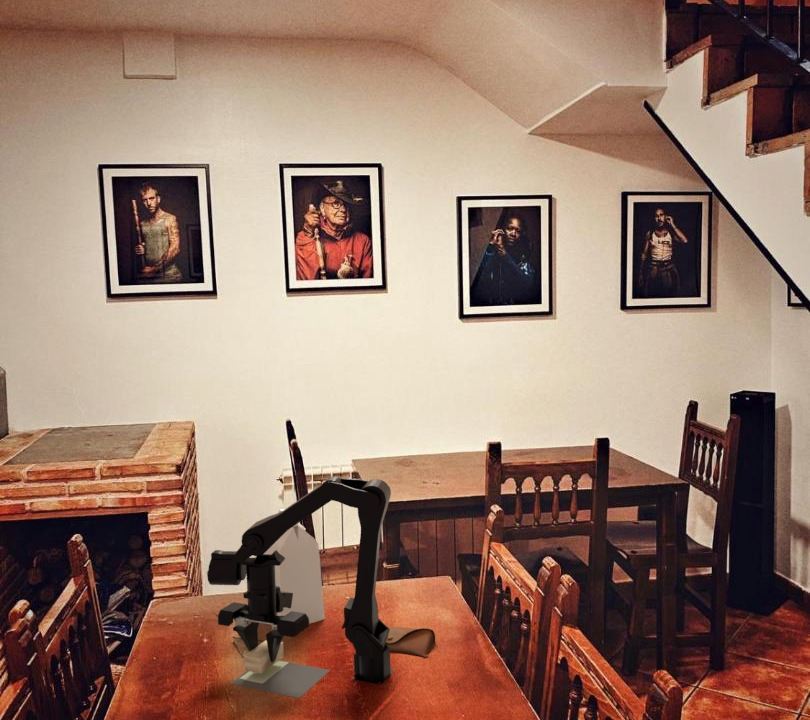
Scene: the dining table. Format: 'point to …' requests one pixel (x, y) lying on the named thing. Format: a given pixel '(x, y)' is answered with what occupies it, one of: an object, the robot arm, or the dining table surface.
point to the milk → (300, 572)
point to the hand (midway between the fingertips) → (264, 659)
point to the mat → (283, 679)
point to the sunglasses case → (410, 641)
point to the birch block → (261, 658)
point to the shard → (243, 645)
